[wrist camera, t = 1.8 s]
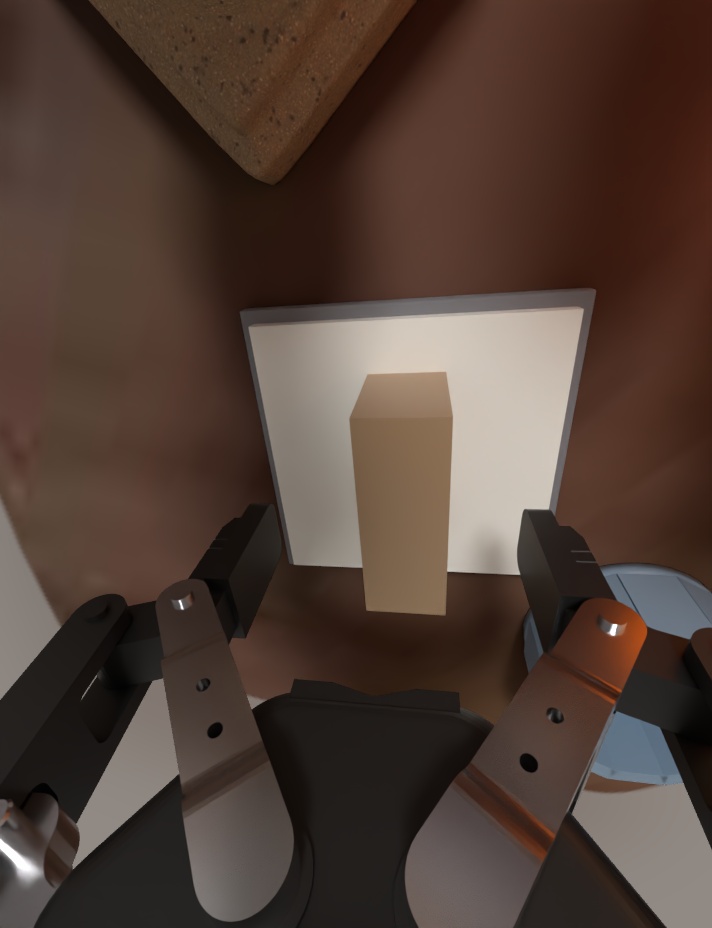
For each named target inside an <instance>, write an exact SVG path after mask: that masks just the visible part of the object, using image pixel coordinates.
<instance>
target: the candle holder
mask: <svg viewBox="0 0 712 928" xmlns="http://www.w3.org/2000/svg"><path fill="white" fill-rule="evenodd" d="M89 1H90V3H91V4H92V5H93V6H94V7H95V8H96V9H97V10H98V11H99V13H100V14H101V15H102V16H103V17H104V18H105V19H106V20H107V22H108V23H109V24H110V25H111V26H112V27H113V28H114V29H115V31H116V32H117V33H118V34H119V35H120V36H121V37H122V38H123V39H124V41H125V42H126V43H127V44H128V45H129V46H130V47H131V48H132V50H133V51H134V52H135V53H136V54H137V55H138V56H139V57H140V58H141V60H142V61H143V62H144V63H145V64H146V65H147V66H148V67H149V69H150V70H151V71H152V72H153V73H154V74H155V75H156V76H157V78H158V79H159V80H160V81H161V82H162V83H163V84H164V85H165V86H166V88H167V89H168V90H169V91H170V92H171V93H172V94H173V95H174V97H175V98H176V99H177V100H178V101H179V102H180V103H181V104H182V106H183V107H184V108H185V109H186V110H187V111H188V112H189V113H190V114H191V116H192V117H193V118H194V119H195V120H196V121H197V122H198V123H199V125H200V126H201V127H202V128H203V129H204V130H205V131H206V132H207V134H208V135H209V136H210V137H211V138H212V139H213V140H214V141H215V142H216V143H217V144H218V145H219V146H220V147H221V148H222V149H223V150H224V151H225V152H226V153H227V154H228V155H229V156H230V157H231V158H232V159H233V160H234V161H235V162H236V163H237V164H238V165H239V166H240V167H241V168H242V169H243V170H244V171H246V172H247V173H248V174H249V175H251V176H253V177H254V178H255V179H257V180H260V181H262V182H265V183H268V184H270V185H275V184H276V183H278V182H280V181H281V180H283V178H284V177H285V176H286V175H287V174H288V172H289V171H290V170H291V169H292V167H293V166H294V165H295V164H296V163H297V161H298V160H299V159H300V158H301V157H302V155H303V154H304V153H305V152H306V150H307V149H308V148H309V147H310V145H311V144H312V143H313V141H314V140H315V139H316V137H317V136H318V135H319V133H320V132H321V131H322V129H323V128H324V127H325V125H326V124H327V122H328V121H329V120H330V118H331V117H332V116H333V114H334V113H335V112H336V110H337V109H338V108H339V106H340V105H341V104H342V102H343V101H344V99H345V98H346V97H347V95H348V94H349V93H350V91H351V90H352V89H353V87H354V86H355V85H356V83H357V82H358V81H359V79H360V78H361V76H362V75H363V74H364V72H365V71H366V70H367V68H368V67H369V66H370V64H371V63H372V62H373V60H374V59H375V58H376V56H377V55H378V53H379V52H380V51H381V49H382V48H383V47H384V45H385V44H386V43H387V41H388V40H389V39H390V37H391V36H392V35H393V33H394V32H395V30H396V29H397V28H398V26H399V25H400V24H401V22H402V21H403V20H404V18H405V17H406V16H407V14H408V13H409V12H410V10H411V9H412V7H413V6H414V5H415V3H416V2H417V1H418V0H89Z"/></svg>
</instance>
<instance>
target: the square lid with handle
mask: <svg viewBox="0 0 712 928" xmlns="http://www.w3.org/2000/svg"><path fill="white" fill-rule="evenodd" d="M583 311H584V309H583V308H581V307H578V306H577V307H558V308H540V309H522V310H503V311H485V312H467V313H449V314H430V315H412V316H394V317H375V318H357V319H339V320H321V321H302V322H284V323H266V324H253V325H251V326H249V327H248V328H249V333H250V338H251V343H252V349H253V354H254V359H255V364H256V370H257V375H258V380H259V385H260V390H261V396H262V401H263V406H264V411H265V416H266V422H267V427H268V432H269V437H270V442H271V448H272V453H273V458H274V463H275V469H276V474H277V479H278V484H279V489H280V495H281V500H282V505H283V510H284V515H285V521H286V526H287V531H288V536H289V542H290V547H291V552H292V557H293V562H294V565H310V566H333V567H355V568H363V578H364V590H365V601H366V611H382V612H399V613H415V614H431V615H446V589H447V572H468V573H491V574H513V575H520V572H519V568H518V563H517V546H518V539H519V532H520V526H521V519H522V513H523V510H524V509H549V505H550V499H551V494H552V488H553V482H554V477H555V471H556V465H557V460H558V454H559V448H560V443H561V437H562V431H563V425H564V420H565V414H566V408H567V403H568V397H569V391H570V386H571V380H572V374H573V368H574V363H575V357H576V351H577V346H578V340H579V334H580V329H581V323H582V317H583Z"/></svg>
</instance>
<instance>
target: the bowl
mask: <svg viewBox="0 0 712 928" xmlns="http://www.w3.org/2000/svg"><path fill="white" fill-rule="evenodd" d="M599 568H600V569H601V571H602V573H603V575H604V577H605V579H606V580H607V582H608V584H609V586H610V588H611V590H612V592H613V593H614V595H615V597H616V599H617V601H618V602H620V603H623V604H625V605H626V606H628V607H630V608H631V609H633V610H634V611H635V612H636V613H637V614H638V615H639V616H640V617H641V618H642V619H643V621H644V622H645V624H646V626H648V627H650V628H653V629H656V630H659V631H662V632H665V633H669V634H673V635H676V636H680V637H683V638H687V639H690V638H691V636H692V634H693V633H694V632H695V631H696V630H698V629H701V628H708V627H709V628H712V593H711V591H710V590H709V589H708V588H707V587H706V586H705V585H704V584H702V583H701V582H700V581H698V580H697V579H695V578H693V577H692V576H690V575H688V574H686V573H683V572H681V571H679V570H676V569H672V568H669V567H665V566H660V565H654V564H645V563H620V564H610V565H604V566H599ZM523 638H524V643H525V647H524V656H525V660H526V664H527V668H528V673H530V671H531V670H532V668H533V667H534V665H535V664H536V662H537V661H538V659H539V658H540V656H541V655H542V654H543V653H544V652H543V649H542V646H541V642H540V639H539V636H538V632H537V629H536V626H535V622H534V619H533V615H532V612H531V609H529V611H528V613H527V615H526V617H525V621H524V624H523ZM591 772H593V773H596V774H598V775H600V776H603V777H605V778H608V779H615V780H624V781H633V782H641V783H650V784H658V785H664V784H665V785H670V784H678V783H683V781H682V778H681V776H680V774H679V771H678V769H677V767H676V764H675V762H674V759H673V757H672V755H671V752H670V750H669V748H668V745H667V743H666V741H665V738H664V736H663V734H662V731H661V729H660V727H658V726H655V725H652V724H650V723H647V722H644V721H641V720H639V719H636V718H633V717H631V716H628V715H625V714H622V713H620V712H617V713H616V715H615V717H614V719H613V722H612V724H611V726H610V729H609V731H608V733H607V735H606V738H605V740H604V742H603V744H602V747H601V749H600V751H599V754H598V756H597V758H596V760H595V763H594V765H593V767H592V770H591Z"/></svg>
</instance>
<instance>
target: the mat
mask: <svg viewBox="0 0 712 928" xmlns="http://www.w3.org/2000/svg"><path fill="white" fill-rule="evenodd" d="M595 296H596V290H595V289H592V288H573V289H556V290H540V291H524V292H507V293H491V294H475V295H459V296H442V297H426V298H410V299H393V300H377V301H361V302H344V303H328V304H312V305H295V306H279V307H263V308H247V309H245V310H242V311H240V317H241V322H242V327H243V332H244V337H245V342H246V347H247V352H248V357H249V362H250V367H251V372H252V377H253V382H254V387H255V392H256V398H257V403H258V408H259V413H260V418H261V423H262V428H263V433H264V438H265V443H266V448H267V453H268V458H269V463H270V468H271V473H272V478H273V483H274V488H275V493H276V498H277V503H278V509H279V514H280V519H281V524H282V529H283V534H284V539H285V544H286V549H287V554H288V559H289V564H294V562H293V557H292V552H291V547H290V542H289V536H288V531H287V526H286V521H285V515H284V510H283V505H282V500H281V495H280V489H279V484H278V479H277V474H276V469H275V463H274V458H273V453H272V448H271V442H270V437H269V432H268V427H267V422H266V416H265V411H264V406H263V401H262V396H261V390H260V385H259V380H258V375H257V370H256V364H255V359H254V354H253V349H252V343H251V338H250V333H249V328H248V327H249V326H251V325H253V324H266V323H284V322H302V321H321V320H339V319H357V318H375V317H394V316H412V315H430V314H449V313H467V312H485V311H503V310H522V309H540V308H558V307H577V306H578V307H581V308H583V309H584V311H583V317H582V323H581V329H580V334H579V340H578V346H577V351H576V357H575V363H574V368H573V374H572V380H571V386H570V391H569V397H568V403H567V408H566V414H565V420H564V425H563V431H562V437H561V443H560V448H559V454H558V460H557V465H556V471H555V477H554V482H553V488H552V494H551V499H550V505H549V509H550V510H551V511H552V512H553V514H554V516H555V511H556V506H557V501H558V495H559V490H560V484H561V479H562V474H563V468H564V463H565V457H566V452H567V447H568V441H569V436H570V431H571V425H572V420H573V414H574V409H575V404H576V398H577V393H578V387H579V382H580V377H581V371H582V366H583V360H584V355H585V350H586V344H587V339H588V333H589V328H590V323H591V317H592V312H593V306H594V301H595Z"/></svg>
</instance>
